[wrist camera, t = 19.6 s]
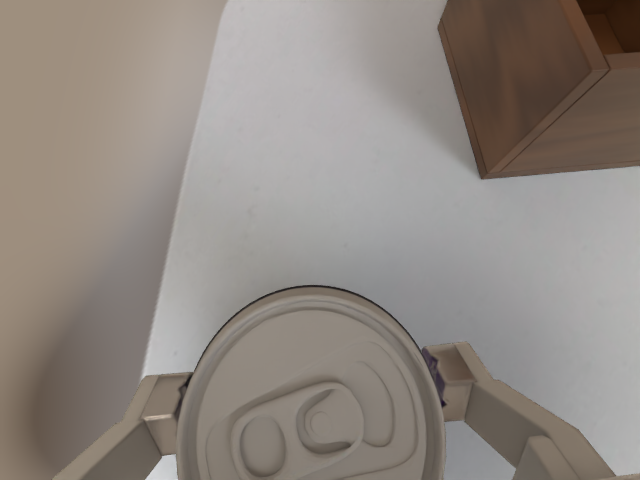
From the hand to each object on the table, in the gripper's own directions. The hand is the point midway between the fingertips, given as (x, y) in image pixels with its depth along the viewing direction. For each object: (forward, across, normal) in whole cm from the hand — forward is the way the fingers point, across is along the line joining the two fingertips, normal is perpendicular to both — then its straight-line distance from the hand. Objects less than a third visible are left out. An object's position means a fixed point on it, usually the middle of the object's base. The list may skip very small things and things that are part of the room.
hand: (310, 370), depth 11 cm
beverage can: (+4, 0, +5) cm, 7 cm away
